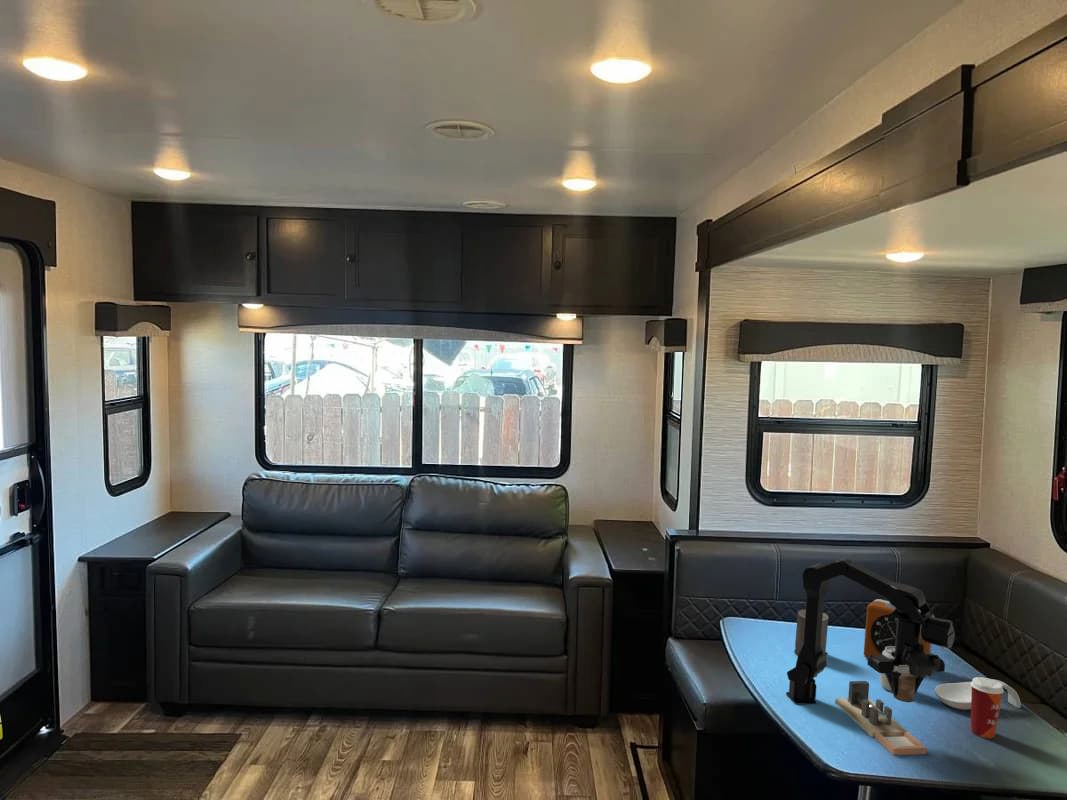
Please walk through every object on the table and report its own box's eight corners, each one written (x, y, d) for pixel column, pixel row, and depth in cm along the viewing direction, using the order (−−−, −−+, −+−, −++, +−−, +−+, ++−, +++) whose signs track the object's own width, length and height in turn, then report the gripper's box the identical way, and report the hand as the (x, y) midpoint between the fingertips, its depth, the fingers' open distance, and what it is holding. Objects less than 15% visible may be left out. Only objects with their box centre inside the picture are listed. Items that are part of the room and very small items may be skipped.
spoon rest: (950, 715, 218) (952, 690, 218) (925, 696, 230) (927, 672, 229) (1029, 715, 220) (1031, 690, 220) (1000, 695, 232) (1003, 672, 231)
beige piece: (871, 736, 204) (872, 716, 203) (835, 702, 223) (836, 684, 222) (907, 735, 205) (908, 716, 205) (868, 702, 224) (869, 683, 223)
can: (910, 695, 229) (913, 655, 229) (883, 692, 231) (886, 652, 230) (903, 684, 237) (906, 646, 236) (877, 681, 238) (880, 643, 237)
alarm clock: (862, 658, 256) (867, 597, 254) (871, 650, 262) (875, 591, 261) (923, 675, 244) (928, 611, 242) (930, 667, 250) (935, 605, 249)
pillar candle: (788, 651, 259) (791, 607, 258) (810, 647, 264) (813, 604, 262) (809, 662, 251) (813, 617, 249) (832, 658, 255) (835, 614, 253)
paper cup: (999, 743, 203) (1003, 691, 202) (965, 734, 207) (970, 683, 206) (999, 731, 210) (1004, 681, 208) (967, 723, 214) (971, 673, 212)
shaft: (874, 724, 207) (876, 703, 207) (848, 701, 221) (849, 681, 220) (892, 724, 208) (893, 703, 207) (864, 700, 221) (866, 681, 221)
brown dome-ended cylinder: (900, 702, 201) (903, 680, 201) (889, 694, 206) (891, 672, 206) (917, 702, 202) (919, 679, 202) (906, 693, 207) (908, 672, 207)
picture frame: (892, 754, 195) (893, 748, 195) (875, 738, 203) (875, 732, 203) (926, 754, 196) (926, 747, 196) (907, 737, 204) (908, 731, 204)
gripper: (893, 649, 194) (889, 710, 195) (961, 648, 196) (957, 707, 198) (868, 633, 205) (864, 690, 206) (933, 631, 207) (928, 688, 209)
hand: (903, 694), depth 204 cm, fingers closed on brown dome-ended cylinder, 5 cm apart
